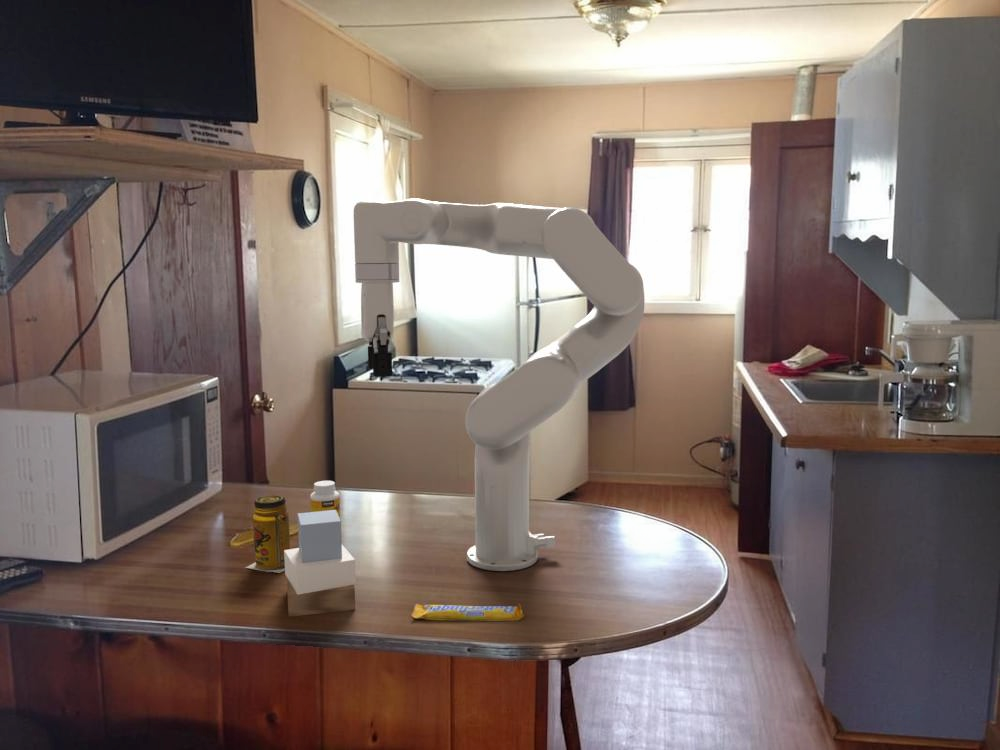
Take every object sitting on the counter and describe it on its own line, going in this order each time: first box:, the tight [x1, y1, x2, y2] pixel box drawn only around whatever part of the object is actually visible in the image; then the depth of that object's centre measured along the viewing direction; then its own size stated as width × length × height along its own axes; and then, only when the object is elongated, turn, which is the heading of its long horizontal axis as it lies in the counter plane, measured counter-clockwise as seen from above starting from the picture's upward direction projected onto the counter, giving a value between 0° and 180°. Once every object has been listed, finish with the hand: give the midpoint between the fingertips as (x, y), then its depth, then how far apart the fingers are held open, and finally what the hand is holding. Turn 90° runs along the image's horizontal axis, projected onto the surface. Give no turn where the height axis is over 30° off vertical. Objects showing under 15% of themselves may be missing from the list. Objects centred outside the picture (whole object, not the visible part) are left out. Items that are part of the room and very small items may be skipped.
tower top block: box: [284, 544, 357, 595], centre depth 134 cm, size 9×9×4 cm
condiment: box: [244, 494, 291, 574], centre depth 150 cm, size 7×8×12 cm
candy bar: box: [411, 603, 525, 622], centre depth 129 cm, size 17×4×2 cm, turn 88°
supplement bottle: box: [309, 480, 341, 519], centre depth 165 cm, size 6×6×10 cm
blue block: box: [297, 510, 343, 563], centre depth 134 cm, size 6×6×6 cm
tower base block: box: [286, 577, 356, 617], centre depth 135 cm, size 10×10×4 cm
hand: (380, 371), depth 150 cm, fingers open, 9 cm apart
